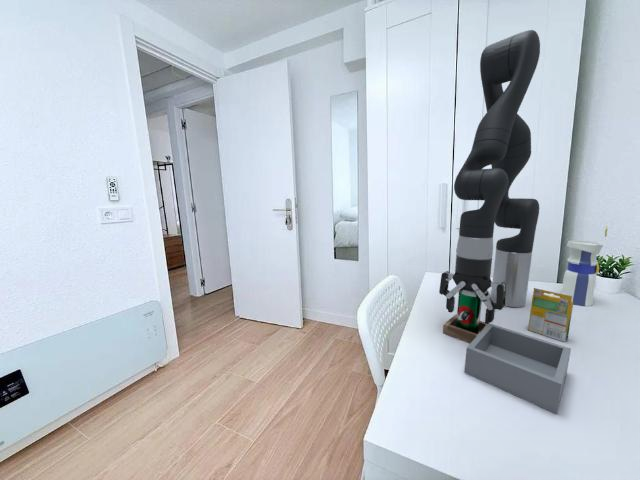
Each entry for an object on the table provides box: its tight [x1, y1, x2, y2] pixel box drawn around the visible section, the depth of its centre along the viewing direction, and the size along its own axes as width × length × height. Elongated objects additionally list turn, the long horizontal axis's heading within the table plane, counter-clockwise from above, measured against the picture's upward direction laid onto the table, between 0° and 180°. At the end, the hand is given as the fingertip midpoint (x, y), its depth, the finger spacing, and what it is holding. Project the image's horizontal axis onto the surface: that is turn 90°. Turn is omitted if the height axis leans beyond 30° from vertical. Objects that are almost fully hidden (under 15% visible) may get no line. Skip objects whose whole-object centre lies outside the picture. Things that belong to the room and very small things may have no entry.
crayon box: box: [527, 287, 574, 343], centre depth 65 cm, size 7×3×12 cm, turn 37°
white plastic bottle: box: [560, 225, 608, 307], centre depth 83 cm, size 8×9×25 cm
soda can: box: [456, 289, 482, 334], centre depth 66 cm, size 5×5×12 cm
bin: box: [464, 322, 572, 415], centre depth 52 cm, size 14×14×6 cm
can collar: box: [442, 313, 488, 344], centre depth 67 cm, size 8×8×2 cm
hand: (468, 316), depth 66 cm, fingers open, 8 cm apart
